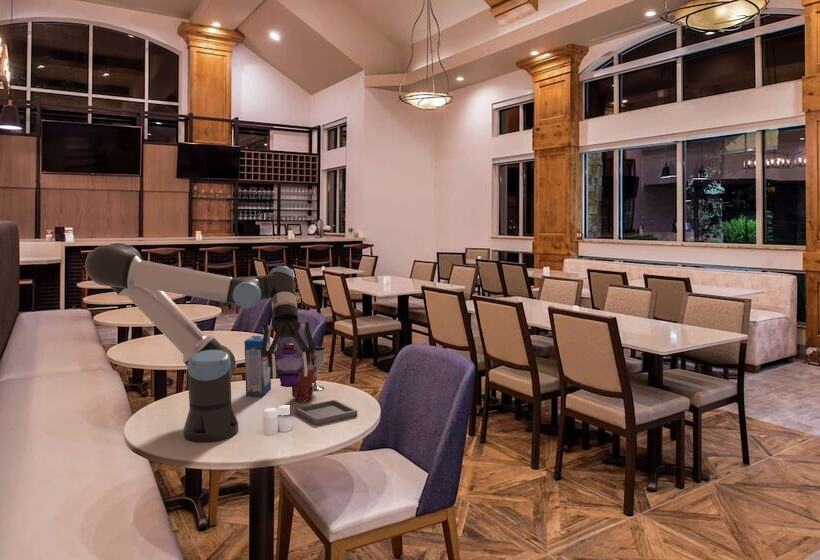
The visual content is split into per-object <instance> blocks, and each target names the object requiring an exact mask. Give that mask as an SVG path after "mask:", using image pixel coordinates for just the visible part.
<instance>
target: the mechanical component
mask: <svg viewBox="0 0 820 560" xmlns="http://www.w3.org/2000/svg"><path fill="white" fill-rule="evenodd" d="M307 370H308V372H307V376H304V368H303V369H302V371H301V372H300V373H301V375H300V380H299V385H297V386H295V387H291V394H292V395H291V396H292V398H294V399H295V398H296V399H295V400H297V399H298V400H297V401H298V403H304V402H305V401H308V400H311V399H313V397H312V396H313V395H314V394H313V393H314V391H313V387H312V386H313V384H314V382H316V383H317V381H318V379H317V377H318V376H317V375H314V367H313V366H309V365H307ZM310 398H311V399H310ZM307 399H308V400H307ZM304 400H305V401H304ZM303 401H304V402H303Z"/></svg>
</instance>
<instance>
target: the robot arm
mask: <svg viewBox="0 0 820 560" xmlns="http://www.w3.org/2000/svg"><path fill="white" fill-rule="evenodd" d="M84 268H85V272H86V274H87V276H88V277H89V278H90V280H91V281H93V282H94V283H96V284H98V285H100V286H104V287H110V288H111V289H112V291H114V292H115V294H117V295H118V296H119V297H126V298H128V299H129V300H130V301H131V302H132V304H134V305H135V306H136V307H137V308H138V310H140V311H141V312H142V314H144V315H145V317H147V318H148V320H150V321H151V323H152V324H153V325H154V326H155V327H156V328H157V329H158V330H159V331H160V332H161V333H162V334H163V335H164V337H166V339H168V340H169V342H171V344H173V346H174V347H175V349H177V350H178V351H179V352H180V354H182V356H183V358H182V359H183V361H182V362H183V363H184V364H185V365H186V367H187V368H186V369H187V378H188V381H187V382H188V383H187V384H188V400H189V401H188V402H189V405H188V406H189V410H188V413H187V417H186V419H185V420H186V421H185V422H184V427H183V437H184V438H185V439H186V440H188V441H189V442H197V443H207V442H208V443H210V442H217V441H222V440H225V439H229V438H230V437H233V436H235V435H236V434H237V433H238V432H239V421H238V419H237V415H236V413H235V411H234V408H233V406H232V383H231V382H232V379H233V378H232V377H233V375H234V374H235V371H236V365H237V364H236V363H237V362H236V358H235V355H234V353H233V352H232V351H231V349H229V348H228V347H227V346H225V345H223V344H221V343H220V342H219V341H218V340H217V339H216V338H215V337H214V335H212V336H211V335H206V334H205V333H203V331H201V329H200V328H199V327H198V325H196V324H195V323H194V322H193V320H191V319H190V318H189V316H187V314H186V313H185V312H184V311H183V310H182V309H181V308H180V307H179V306H178V305H177V304H176V302H175V301H174V300H173V299H171V298H170V296H169V295H168V294H167V293H170V294H177V295H184V296H189V297H194V298H195V297H196V298H200V299H204V300H211V301H216V302H221V303H222V302H223V303H228V304H231V305H237V306H239V308H243V309H250V308H252V307H254V306H256V305H257V304H258V303H259V302H260V300H269V299H271V310H272V323H271V324H269V325H267V324H266V323H264V324H263V325H262V333H263V335H262V336H263V342H262V348H261V356H262V357H267V358H268V367H271V370H272V379H273V380H274V379H276V378H277V376H276V370H277V369H276V364H275V360H276V356H275V355H276V354H275V351H276V348H277V347H278V344H279V342H280V340H281V338H282V339H283V338H292V339H293V340H294V341H295V342H296V344H297V346H298V347H299V348H300V350H301V351H302V357H301V359H303V361H304V364H303V368H304V376H307V372H308V370H307V365H309V364H310V354H314V353H315V343H314V340H313V337H312V333H311V331H310V322H305V323H301V322H300V320H299V313H298V312H299V311H298V304H297V303H298V302H297V296H296V295H297V294H296V283H295V282H296V281H295V276H294V272H293V269H291V268H289V267H288V266H284V265H277V266H275V267H273V268H272V269H271V270H270V271H269V274H265V275H254V276H240V277H232V276H227V275H222V274H217V273H216V274H215V273H211V272H206V271H201V270H195V269H191V268H190V269H189V268H184V267H180V266H174V265H170V264H169V265H168V264H163V263H159V262H153V261H148V260H145V259H144V260H143V258H142V256H141V253H140V252H139V251H138V250H137V249H136V248H134V247H133V246H131V245H128V244H126V243H121V242H119V243H118V242H116V243H110V244H104V245H99V246H97V247H95V248H94V249H93V250H91V251H90V252H89V253H88V254H87V257H86V258H85V263H84ZM166 292H167V293H166ZM300 329H301V331H302V333H303V332H304V337H305V339H306V342H305V341H304V339H303V338H302V336H301V335H300V333H299V330H300ZM271 330H273V332H274V333H275V336H274V337H273V339H272V342H271V343H270V348H269V350H268V351H266V348H267V341H268V336H269V334H271ZM306 343H307V344H306ZM308 347H309V348H308Z"/></svg>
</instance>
